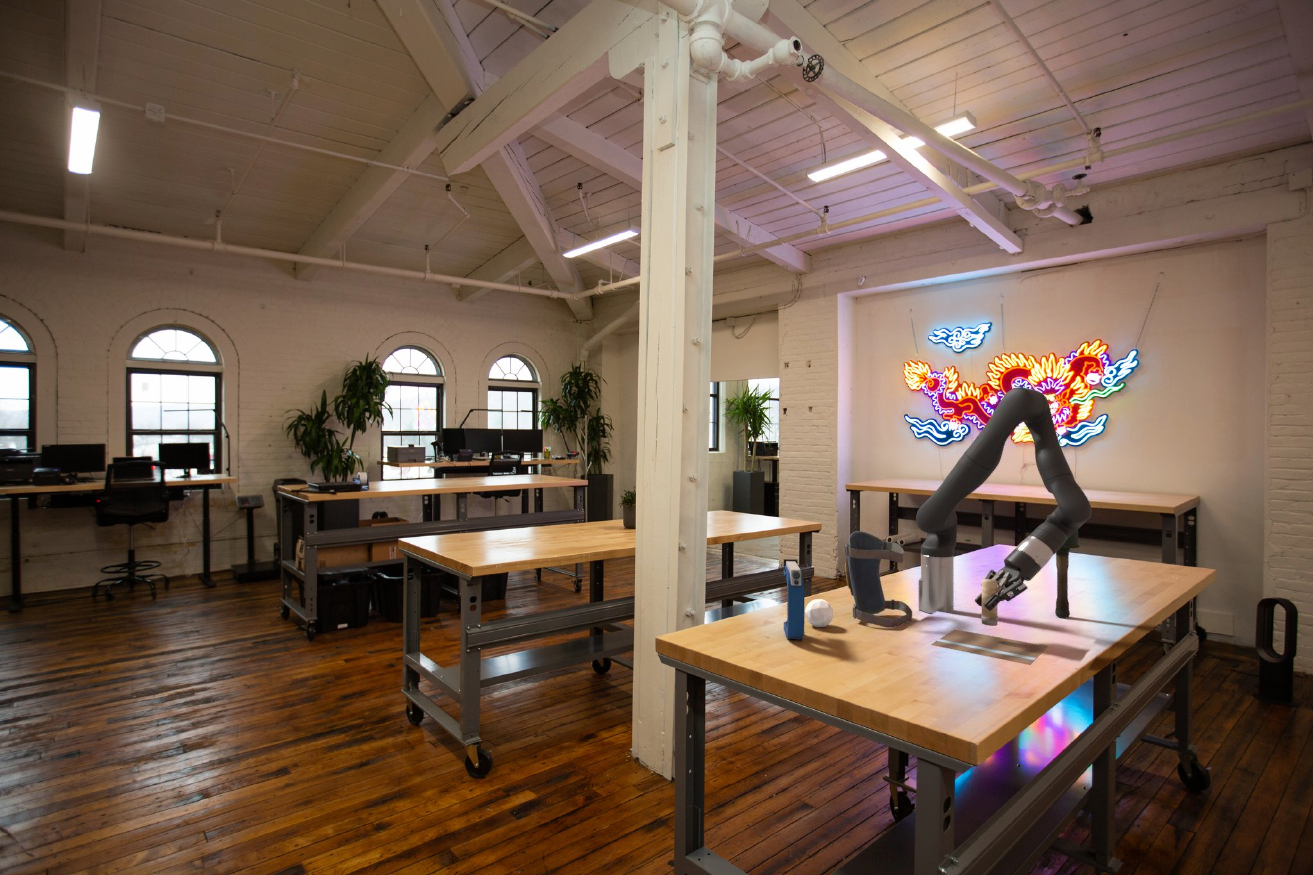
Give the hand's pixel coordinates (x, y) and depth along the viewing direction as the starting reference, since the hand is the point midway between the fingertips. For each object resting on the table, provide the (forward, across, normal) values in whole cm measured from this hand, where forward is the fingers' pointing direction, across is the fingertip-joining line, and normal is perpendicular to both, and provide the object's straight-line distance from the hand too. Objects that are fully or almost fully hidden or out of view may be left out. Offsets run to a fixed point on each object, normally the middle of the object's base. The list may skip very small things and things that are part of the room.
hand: (982, 605), depth 168 cm
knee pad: (+20, -26, -4) cm, 33 cm away
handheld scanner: (+40, -11, -25) cm, 49 cm away
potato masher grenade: (-20, -25, +35) cm, 47 cm away
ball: (+33, -20, -18) cm, 42 cm away
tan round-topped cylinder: (+2, 0, +5) cm, 5 cm away
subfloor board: (+8, +4, +7) cm, 11 cm away
